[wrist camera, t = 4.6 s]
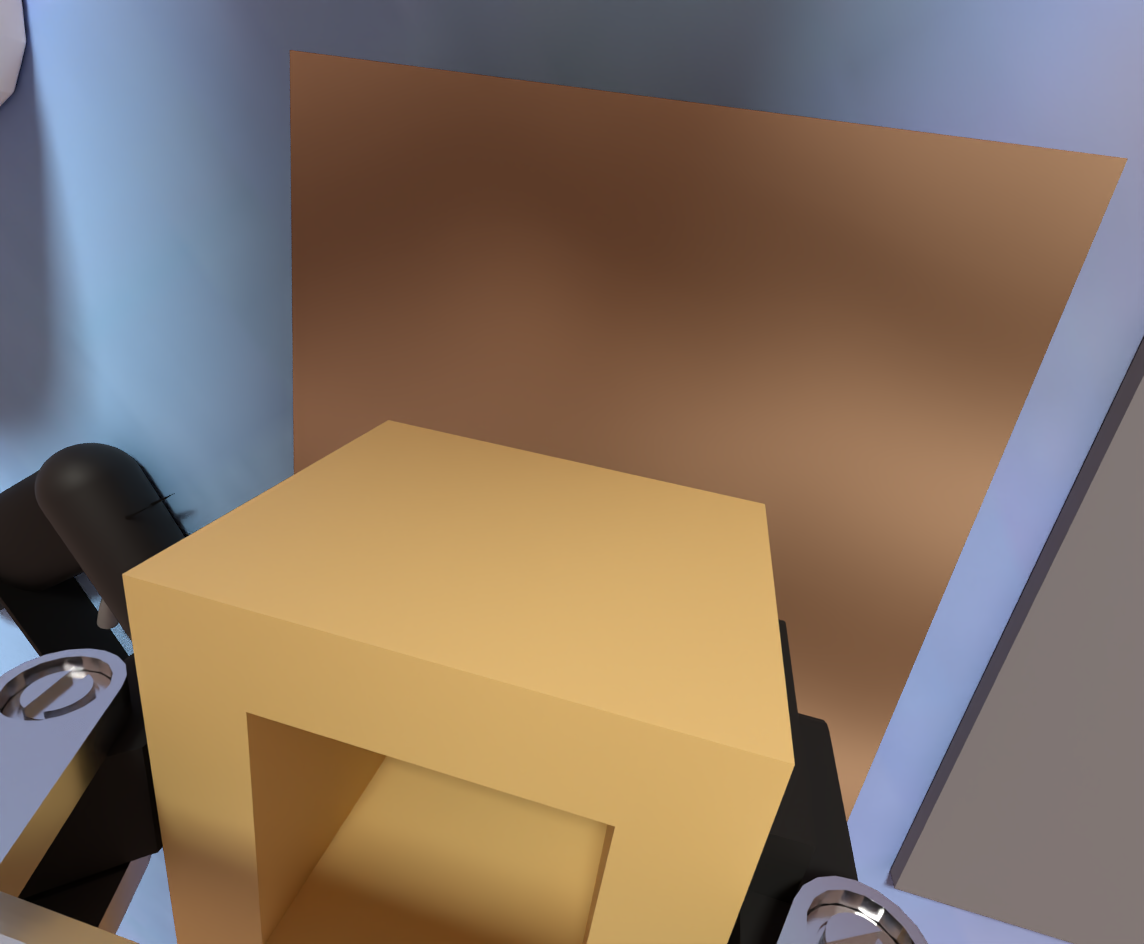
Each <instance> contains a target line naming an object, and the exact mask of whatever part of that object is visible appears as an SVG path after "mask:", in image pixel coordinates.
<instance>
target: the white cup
mask: <svg viewBox="0 0 1144 944" xmlns="http://www.w3.org/2000/svg"><path fill="white" fill-rule="evenodd" d="M25 45H26V35H25V26H24V16H23V7H22V0H0V106H1V105H2V104H3V103H4V102H5V101H6V100H7V99H8V98H9V97H10V96H11V95H12V94H13V92H14V90H15V86H16V82H17V78H18V75H19V71H20V67H21V62H22V58H23V54H24V50H25Z"/></svg>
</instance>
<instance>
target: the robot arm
mask: <svg viewBox="0 0 1144 944" xmlns="http://www.w3.org/2000/svg"><path fill="white" fill-rule="evenodd" d="M778 622H779V631H780V639H781V648H782V657H783V666H784V674H785V683H786V692H787V700H788V709H789V718H790V727H791V735H792V744H793V753H794V762H795V766H794V768H793V771H792V774H791V776H790V779H789V781H788V784H787V787H786V789H785V792H784V795H783V797H782V800H781V803H780V805H779V808H778V811H777V813H776V816H775V819H774V821H773V824H772V826H771V829H770V832H769V834H768V837H767V840H766V842H765V845H764V848H763V850H762V853H761V856H760V858H759V861H758V864H757V866H756V869H755V871H754V874H753V877H752V879H751V882H750V885H749V887H748V890H747V893H746V895H745V898H744V901H743V903H742V906H741V909H740V911H739V914H738V916H737V919H736V922H735V924H734V927H733V930H732V932H731V935H730V938H729V940H728V943H727V944H928V943H927V941H926V940H925V938H924V936H923V935H922V933H921V932H920V930H919V928H918V927H917V926H916V925H915V924H914V923H913V921H912V920H911V919H910V918H909V917H908V916H907V915H906V914H905V913H904V912H903V911H902V910H901V909H900V907H899V906H897V905H896V904H895V903H893V902H892V901H891V900H889V899H888V898H887V897H885V896H884V895H883V894H881V893H880V892H879V891H877V890H875V889H873V888H871V887H869V886H867V885H865V884H863V883H861V882H858V878H857V873H856V868H855V862H854V857H853V852H852V847H851V841H850V836H849V831H848V826H847V821H846V815H845V810H844V805H843V800H842V794H841V789H840V784H839V779H838V773H837V768H836V763H835V758H834V753H833V747H832V742H831V737H830V732H829V728H828V725H827V723H826V722H825V721H824V720H822V719H819V718H815V717H811V716H808V715H804V714H800V713H798V709H797V702H796V695H795V687H794V680H793V672H792V665H791V657H790V650H789V642H788V635H787V627H786V623H785V621H784V620H780V619H778ZM162 847H163V844H162V837H161V831H160V824H159V817H158V811H157V804H156V797H155V791H154V784H153V777H152V771H151V764H150V757H149V751H148V744H147V737H146V731H145V724H144V717H143V711H142V704H141V697H140V691H139V684H138V677H137V671H136V664H135V657H134V653H133V654H132V655H130V656H129V657H128V658H126V659H125V660H123V661H122V660H121V659H120V658H119V657H118V656H117V655H114V654H112V653H110V652H107V651H104V650H96V649H73V650H65V651H60V652H55V653H51V654H46V655H43V656H41V657H38V658H35V659H33V660H30V661H27V662H24V663H23V664H21V665H19V666H17V667H15V668H13V669H12V670H10V671H8V672H6V673H5V674H3V675H2V676H1V677H0V944H139V943H136V942H134V941H131V940H128V939H126V938H123V937H120V936H118V935H115V934H116V932H117V930H118V928H119V926H120V924H121V921H122V919H123V917H124V915H125V913H126V911H127V909H128V906H129V904H130V902H131V900H132V898H133V896H134V894H135V892H136V889H137V887H138V885H139V883H140V881H141V879H142V877H143V875H144V872H145V870H146V868H147V866H148V864H149V861H150V858H151V854H154V853H157V852H158V851H159V850H160V849H161V848H162Z"/></svg>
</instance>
